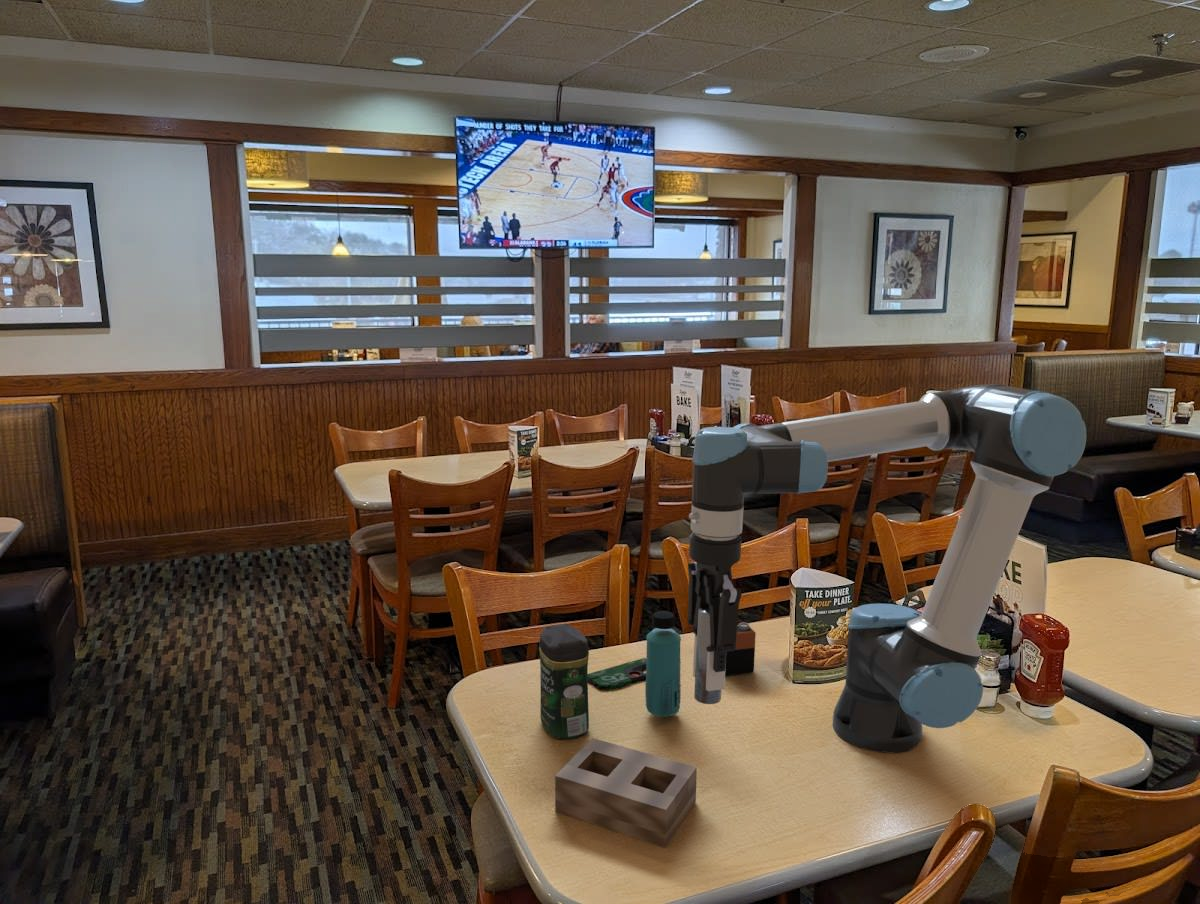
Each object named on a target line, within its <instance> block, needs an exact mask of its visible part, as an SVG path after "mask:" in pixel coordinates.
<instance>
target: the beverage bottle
mask: <svg viewBox="0 0 1200 904" xmlns="http://www.w3.org/2000/svg"><path fill="white" fill-rule="evenodd" d="M652 615H653V616H652V621H651V626H652V627H653V629H652V630H651V631H649V633H647V635H646V639H645V640H646V658H647V663H646V667H645V668H646V670H645V672H644V673H646V681H645V690H644V692H645V696H644V699H645V707H646V710H647V712H649V714H651V715H653V716H657V717H666V718H667V717H671V716H674V715H676V714H677V713H679V712H680V708H681V707H680V706H681V693H682V692H681V687H682V684H681V676H682V673H681V640H682V638H681V635H680V634H679V633H678V632H677V631H676V630H675V629H674V628H675V626H676V620H675V614H674V613H673V612H671V611H667V610H658V611H655V612H654V613H653V614H652Z"/></svg>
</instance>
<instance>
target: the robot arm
mask: <svg viewBox="0 0 1200 904" xmlns="http://www.w3.org/2000/svg"><path fill="white" fill-rule="evenodd" d="M1086 443H1087V427H1086V422H1085V421H1084V419H1083V418H1082V414H1081V412H1080V411H1079V409H1078V407H1076V405H1074V404H1073V403H1072V402H1071V401H1069V400H1067V398H1064V397H1061V396H1058V395H1054V394H1052V393H1050V392H1044V391H1041V390H1033V389H1027V388H1022V387H1017V386H1016V387H1014V386H1011V385H1010V386H1009V385H1004V384H1000V383H987V384H977V385H970V386H965V387H958V388H953V389H948V390H942V391H937V392H936V391H935V392H931V393H925V394H923V395H922V396H921V397H920V399H919V400H918V401H912V402H907V403H899V404H892V405H888V406H886V405H885V406H880V407H873V408H869V409H868V408H867V409H861V410H855V411H854V410H853V411H848V412H841V413H837V414H836V413H835V414H829V415H823V416H817V417H811V418H809V417H808V418H803V419H797V420H791V421H784V422H781V423H772V424H770V423H769V424H764V425H758V424H755V423H747V422H746V423H745V422H743V423H738V424H737V425H735V426H733V427H730V426H729V427H726V426H725V427H724V426H709V427H708V426H707V427H703V428H701V429H700V430H698V432H696V434H695V438H694V444H693V445H694V446H693V455H692V458H691V460H692V461H691V462H692V485H691V487H692V489H691V490H692V492H691V494H692V495H691V513H690V512H689V514H688V519H689V520H690V530H691V531H692V532H691V533H690V534H689V547H688V548H689V549H688V550H689V551H688V555H689V557H690V559H691V560H692V562H691V561H690V562H688V563H687V570H688V606H687V607H688V608H687V609H688V611H687V624H688V625H689V626H692V633H693V634H694V643H693V664H692V676H693V677H694V678H695V672H696V651H697V630H698V610H699V608H701V607H707V606H709V609H710V635H711V646H710V647H706V649H707V651H708V653H707V673H706V690H707V691H713V690H720V689H721V690H724V689H725V683H726V676H725V669H726V652H727V651H734V650H735V647H736V634H737V625H738V619H739V618H738V617H739V607H740V606H739V605H740V601H741V598H742V594H743V592H742V589H741V588H740V587H737V588H735V587H734V585H733V584H732V583H733V574H732V567H733V566H734V565H735V564H738V562H739V561H740V560H741V555H742V541H743V540H742V537H741V536H740V535H741V534H743V526H744V525H743V524H744V523H743V521H744V509H745V508H744V507H745V505H744V504H745V502H744V501H745V500H744V499H745V495H747V494H749V495H750V494H751V495H753V494H754V495H755V494H756V495H757V494H797V495H800V494H806V493H815V492H818V491H820V490H821V489H822V488H823V487H824V485H825V484H826V482H827V478H828V471H829V470H828V469H829V463H830V462H834V461H837V462H838V461H842V460H848V459H854V458H860V457H861V458H862V457H867V456H873V455H880V454H884V453H893V452H899V451H904V450H912V449H919V448H923V447H927V448H928V449H929V450H931V451H934V452H935V451H943V450H962V451H968V452H973V455H972V457H971V460H970V461H969V462H970V466H971V468H972V469H973V472H974V474H975V478H974V481H973V483H972V486H971V488H970V491H969V493H968V496H967V499H966V501H965V503H964V506H963V508H962V511H961V513H960V516H959V517H958V518H959V519H958V521H957V524H956V527H955V528H954V531H953V534H952V537H951V538H950V541H949V544H948V546H947V549H946V551H945V553H944V556H943V559H942V561H941V564H940V567H939V570H938V572H937V574H936V576H935V579H934V582H933V584H932V587H931V589H930V592H929V594H928V597H927V600H926V602H925V604H924V606H923V609H922V611H921V614H920V613H919V611H917V610H916V609H914V608H911V607H909V606H904V605H900V604H893V603H868V604H867V603H866V604H862V605H859V606H857V607H855V608H854V609H853V610H852V611H851V612H850V617H849V623H848V626H847V629H848V637H847V639H848V640H847V653H846V670H845V671H846V673H845V685H844V687H843V689H842V691H841V694H840V696H839V697H838V700H837V703H836V705H835V707H834V709H833V712H832V713H833V714H832V728H833V730H834V731H835V733H836V734H838V735H837V736H839V737H840V738H842V740H844V741H846V742H848V743H849V744H852V745H854V746H856V747H859V748H861V749H865V750H869V751H872V752H878V753H880V752H881V753H902V752H907V751H910V750H912V749H914V748H915V749H916V747H917V746H919V745H920V743H921V742H922V737H923V735H922V733H923V725H924V726H926V727H929V728H934V729H944V728H951V727H953V726H955V725H956V724H957V723H962V722H964V721H965V720H966V719H968V718H969V717H970V716H972V715H973V714H974V712H975V711H976V710H977V709H978V707H979V706H980V703H981V701H982V698H983V694H984V685H983V683H982V679H981V677H980V674H979V673H978V672H977V670H976V668H977V666H978V663H979V660H980V658H981V655H982V650H981V648H980V646H979V644H978V642H977V637H978V635H979V632H980V630H981V627H982V625H983V622H984V621H985V617H986V615H987V612H988V610H989V607H990V605H991V602H992V599H994V595H995V593H996V590H997V588H998V585H999V582H1000V580H1001V578H1002V576H1003V573H1004V571H1005V568H1006V566H1007V564H1008V560H1009V558H1010V556H1011V553H1012V551H1013V548H1014V545H1015V544H1016V542H1017V538H1018V536H1019V533H1020V531H1021V529H1022V526H1023V523H1024V521H1025V518H1026V517H1027V513H1028V512H1029V510H1030V507H1031V504H1032V502H1033V500H1034V498H1035V496H1037V495H1038V494H1040V493H1043V492H1045V491H1048V490H1050V487H1051V485H1052V482H1053V480H1054V477H1057V476H1060V475H1063V474H1064V473H1067V472H1068V470H1069V469H1074V467H1075V466H1076V465H1077V463H1078V462H1079V461H1080V459H1081V458H1082V456H1083V454H1084V451H1085V450H1086V449H1085V448H1086ZM693 561H694V562H693Z"/></svg>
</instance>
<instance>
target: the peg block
mask: <svg viewBox="0 0 1200 904" xmlns="http://www.w3.org/2000/svg"><path fill="white" fill-rule="evenodd" d="M697 769H698V768H697V766H694V765H691V764H688V763H687V764H686V763H684V762H680V761H677V760H672V759H669V758H665V757H662V756H660V755H659V756H658V755H654V754H651V753H647V752H644V751H640V750H637V749H633V748H629V747H625V746H623V745H618V744H615V743H611V742H608V741H606V740H601V739H597V738H594V737H592V738H591V739H590V740H589V741H588V742H587V743H586V744H585V745H584V746H583V747H581V749H580V750H579V751H578V752H577V753H575V755H574V756H573V757H572V758H571V759H570V760H569V761H568V762H567V763H566V764H565V765H564V766H563V767H562V768H561V769H560V770H559V771H558V772H556V774H555V775H554V794H555V795H554V797H555V798H554V800H555V801H554V805H555V806H554V807H555V808H554V810H555V811H554V812H556V813H559V814H561V815H565V816H567V817H571V818H573V819H577V820H579V821H583V822H586V823H589V824H591V825H595V826H598V827H601V828H604V829H607V830H610V831H613V832H616V833H619V834H621V835H622V834H623V835H624V836H628V837H631V838H635V839H637V840H640V841H643V842H648V843H649V844H652V845H655V846H659V847H662V848H664V849H665V848H666V847H667V846H668V844H670V842H671V840H672V838H673V837H674V836H675V834H676V832H677V831H678V830H679V829H680V827H681V825H682V823H683V822H684V821H685V819H686V817H687V816H688V815H689V813H690V812H691V811H692V809H693V807H694V806H695V804H696V802H697V801H696V800H697V777H698V776H697V771H698V770H697Z"/></svg>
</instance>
